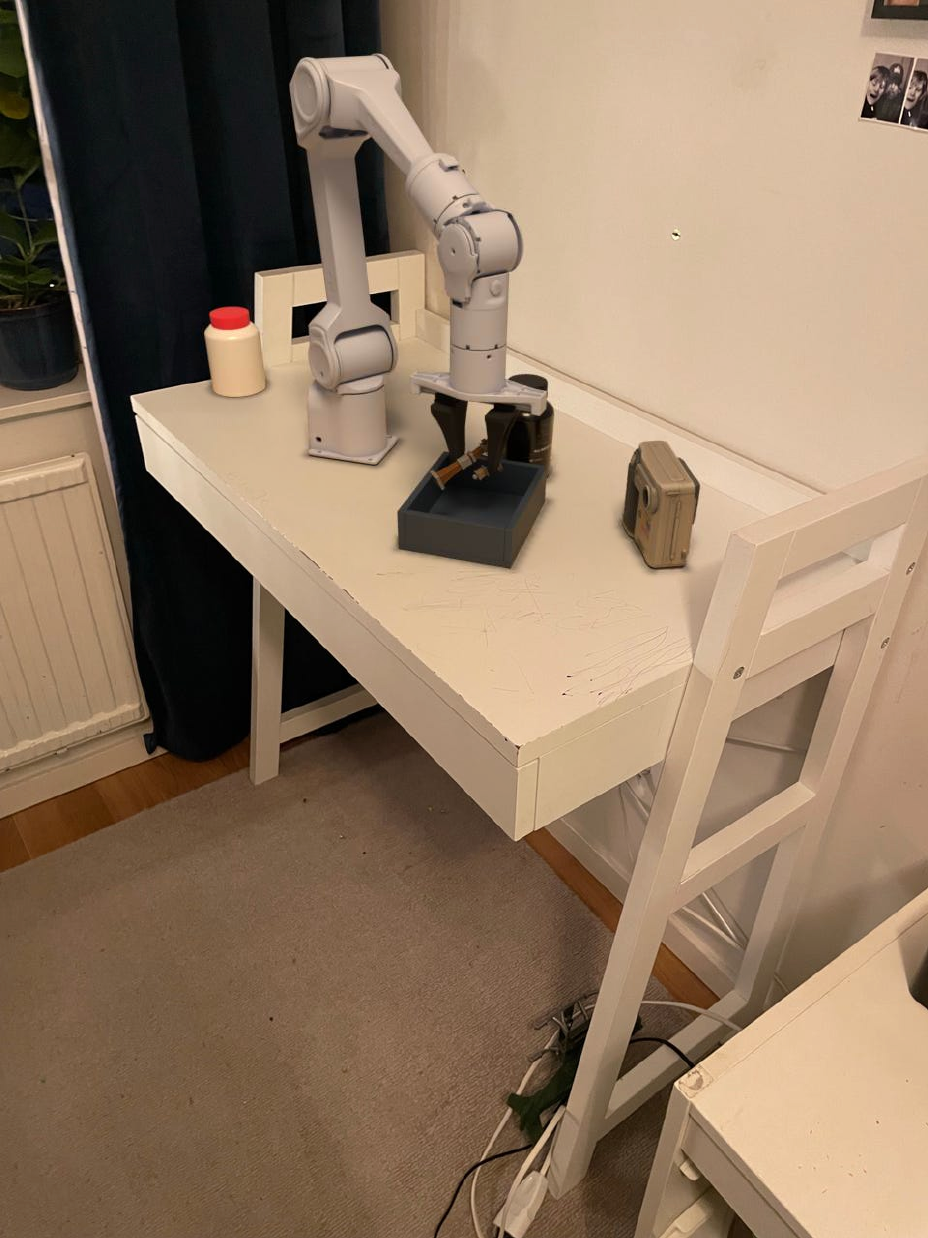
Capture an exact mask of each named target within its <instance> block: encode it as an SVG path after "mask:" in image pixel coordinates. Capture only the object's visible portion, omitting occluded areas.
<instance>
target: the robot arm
mask: <svg viewBox="0 0 928 1238" xmlns="http://www.w3.org/2000/svg"><path fill="white" fill-rule="evenodd" d="M289 93H290V95H289V96H290V100H291V108H292V109H291V110H292V115H293V122H294V129H295V133H296V140H297V145H298V146H300V147H302V148H304V149H305V150H306V158H307V165H308V173H309V179H310V185H311V194H312V201H313V210H314V216H315V224H316V231H317V238H318V246H319V253H320V260H321V269H322V275H323V276H322V277H323V282H324V283H323V284H324V290H325V297H326V304H325V305H324V307H323V308H322V309H321V310H320V311H319V312H318V313H317V314H316V315H315V317H314V318H313V319H312V320H311V321H310V323H309V324H308V334H309V346H308V351H307V356H308V364H309V367H310V371H311V373H312V375H313V377H314V378H315V379H314V380H313V381H312V383H311V384H310V386H309V389H308V393H307V398H306V412H307V425H308V434H309V445H310V448H309V449H308V451H307V453H308V455H309V456H315V457H322V458H329V459H335V460H342V461H347V462H353V463H360V464H367V465H377V464H379V463H380V461H381V460H382V459H383V458H384V457H385V456H386V455H387V453H388V452H389V451H390V450H391V449H392V448H393V447H394V445H395V444H396V443H397V442H398V440H399V439H398V437H397V436H395V435H388V434H387V417H386V416H387V415H386V414H387V413H386V395H385V394H386V392H385V384H386V383H389V382H390V374H391V373H393V372H394V371H395V369H396V368H397V365H398V359H399V349H398V344H397V340H396V338H395V335H394V333H393V330H392V325H391V318H390V315H389V314H388V313H387V312H386V311H384V310H383V309H382V308H381V307H379V306H378V305H376V304H374V303H373V302H372V301H371V293H370V285H369V283H370V282H369V276H368V275H369V274H368V267H367V258H366V257H367V256H366V250H365V240H364V232H363V231H364V230H363V223H362V215H361V214H362V213H361V205H360V198H359V197H360V195H359V187H358V178H357V168H356V161H355V157H356V154H357V152H358V151H359V149H360V148H361V146H362V144H363V143H364V142H365V141H366V140H369V139H370V138H372V139H373V141H374V142H375V143H376V144H377V145H378V146H379V148H381V149H382V151H383V152H384V153H385V154H386V156H387V157H388V158H389V159H390V160H391V161H392V163H394V165H395V166H396V167H397V168H398V169H399V170H400V172H401V173H402V174H403V175H404V176H405V177H406V179H405V184H404V193H405V196H406V199H407V200H408V201H409V203H410V204H411V205H412V207H413V208H414V210H415V211H416V213H417V215H419V216H420V218H421V220H422V221H423V222H424V224H425V225H426V227H427V228H428V229H429V230H430V232H431V233H432V235H433V236H434V238H435V239H436V240H437V242H438V243H436V253H437V259H438V262H439V266H440V269H441V270H442V273H443V281H444V282H443V283H444V290H445V294H446V296H447V297H449V371H429V370H428V371H427V370H419V369H418V370H416V371H415V372H414V373H412V374H411V375H410V376H409V393H410V395H421V394H425V395H432V396H434V399H433V403H431V404H430V406H429V408H430V409H429V410H430V414H431V415H432V417H433V419H434V420H435V421H436V424H437V425H438V426H439V428H440V431H441V433H442V435H443V438H444V441H445V443H446V447H447V450H448V452H449V454H450V459H451V463H452V464H454V463H455V462H457V459H459V458H461V457H462V456H463V455H464V454H466V421H467V420H466V419H467V413H468V412H467V411H468V405H469V402H470V403H480V404H483V405H484V404H485V405H491V406H492V408H491V409H490V410H489V411H488V412H487V413H486V414H485V415H484V424H485V428H486V437H487V438H488V452H487V453H486V456H487V471H488V472H495V470H496V469H497V468H498V467H499V466H500V462H501V457H502V453H503V449H504V446H505V443H506V440H507V438H508V435H509V433H510V431H511V428H512V426H513V424H514V422H515V421H516V419H517V417H518V415H519V413H520V412H521V410H525V411H531V414H533V415H538V416H540V415H541V414H542V413H543V412H544V410H545V409H546V402H547V401H548V397H547V391H543V390H538V389H534V388H531V387H528V386H525V385H522V384H519V383H516V382H513V381H510V380H508V379H507V378H506V375H507V374H506V372H507V367H506V366H507V347H508V346H507V345H508V344H507V343H508V319H509V318H508V317H509V316H508V315H509V296H510V295H509V293H510V292H509V291H510V273H511V272H513V271H516V269H517V268H518V267H519V265H520V264H521V261H522V259H523V255H524V246H525V245H524V235H523V232H522V229H521V226H520V223H519V221H518V220H517V219H516V217H515V215H514V213H513V212H512V211H511V210H509V209H508V208H505V207H497V206H496V205H495V204H494V203H493V202H492V203H490V202H489V203H487V202H486V199H484V197H483V196H482V195H481V193H480V192H479V191H478V190H477V188H476V187H475V186H474V184H473V183H472V182H471V180H470V179H469V177H468V176H467V175H466V174H465V172H464V171H463V170H462V168H461V167H460V163H459V162H458V160H457V159H456V158H455V156H453V155H450V154H448V153H445V152H434V150H433V149H432V147H431V145H430V144H429V142H428V141H427V138H426V137H425V136H424V134H423V132H422V130H421V129H420V128H419V126H418V125H417V122H416V121H415V120H414V118H413V116H412V114H411V112H410V111H409V110H408V108H407V107H406V105H405V103H404V102H403V91H402V80H401V76H400V73H398V71H396V70H395V68H394V66H393V64H392V62H391V61H390V59H389V58H388V57H387V56H386V55H384V54H383V53H372V54H371V55H360V56H357V55H356V56H342V57H341V56H340V57H339V56H338V57H323V58H321V57H319V58H314V57H307V56H306V57H303V58H301V59H300V60H299V62H298V63H297V65H296V67H295V69H294V72H293V74H292V77H291V79H290V82H289ZM487 438H486V439H487Z"/></svg>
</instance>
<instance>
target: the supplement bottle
mask: <svg viewBox="0 0 928 1238" xmlns="http://www.w3.org/2000/svg"><path fill="white" fill-rule="evenodd" d="M507 380H510V381H513V382H516V383H519V384H522V385H525V386H528V387H531V388H534V389H538V390H543V391H547V398H548V397H549V391H548V389H549V381H548V379H547V378H546V377H544V376H541V375H538V374H533V373H520V374H519V373H518V374H514V375H512V376H510V377H508V379H507ZM554 422H555V409H554V406H553V405H552V403H551V402H550V401H549V400H547V402H546V409H545V410H544V412H543V413H542V414H541V415H540V416H538V415H533V414H531V411H525V410H521V412H520V413H519V415H518V417H517V419H516V421H515V422H514V424H513V426H512V428H511V431H510V433H509V435H508V438H507V440H506V443H505V446H504V449H503V453H502V457H501V459H502V460H509V461H516V462H522V463H529V464H536V465H542V466H547V477H548V476H549V474H550V470H551V469H550V468H551V461H552V459H551V458H552V448H553V447H552V446H553V436H554V425H555V424H554Z"/></svg>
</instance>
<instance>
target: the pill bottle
mask: <svg viewBox="0 0 928 1238" xmlns="http://www.w3.org/2000/svg"><path fill="white" fill-rule="evenodd" d="M209 321H210V323H209V324H208V326H207V327H206V328H205V330H204V332H203V335H204V341H205V348H206V354H207V361H208V367H209V375H210V381H211V388H212V391H213V392H214V393H215V394H217V395H219V396H222V397H228V398H241V397H249V396H253V395H256V394H258V393H260V392H263V390H265V389H266V386H267V383H266V376H265V375H266V374H265V367H264V357H263V350H262V342H261V332H260V328H259V327H258V325H256V324H255V323H253V321H251V319H250V312H249V309H247V308H244V307H240V306H223V307H219V308H215V309H213V310H211V311H209Z"/></svg>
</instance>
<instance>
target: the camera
mask: <svg viewBox="0 0 928 1238" xmlns="http://www.w3.org/2000/svg"><path fill="white" fill-rule="evenodd" d="M625 488H626V489H625V497H624V503H623V505H624V506H623V514H622V526H623V528H624V530H625V532H626V534H627V535H628V536H629V537H631V538H633V539H634V540H635V543H636V544H637V546H638V548H639V550H640V552H641V555H642V556H643V559H644V560H645V563H646V564H647V566H650V567H652V568H654V569H655V568H666V567H680V566H683V565H685V564H686V560H687V558H688V556H689V553H690V546H691V538H692V533H693V525H694V524H695V522H696V517H697V508H698V505H699V497H700V491H701V484H700V482H699V480H698V479H697V477H696V476H695V475H694V473H693V471H692V469H690V467H689V465H688V464H687V462H686V461H685V460H684V459H683V458H681V457H679V456H677V454H675V451H673V449H672V447H671V446H670V444H669V443H668V442H667V441H665V440H649V441H641V442H640V443H639V444H638V448H636V449H635V450H634V451H633V455H632V456H631V459H630V462H629V463H628V466H627V477H626V487H625Z"/></svg>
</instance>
